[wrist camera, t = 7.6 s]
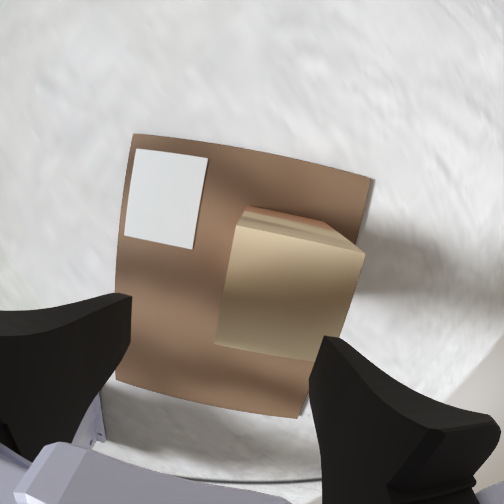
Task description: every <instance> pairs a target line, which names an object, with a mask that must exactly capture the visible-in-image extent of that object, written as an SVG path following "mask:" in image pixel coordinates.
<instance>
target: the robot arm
mask: <svg viewBox="0 0 504 504" xmlns="http://www.w3.org/2000/svg"><path fill="white" fill-rule="evenodd" d="M132 297H133V296H130V295H126V294H122V293H111V294H106V295H102V296H98V297H95V298H91V299H87V300H83V301H80V302H76V303H71V304H67V305H62V306H58V307H53V308H46V309H38V310H26V311H0V504H292V503H290V502H289V501H287V500H286V499H284V498H282V497H279V496H274V495H269V494H264V493H260V492H256V491H251V490H245V489H237V488H230V487H224V486H218V485H212V484H207V483H202V482H197V481H192V480H187V479H183V478H179V477H175V476H171V475H167V474H163V473H159V472H156V471H152V470H149V469H145V468H142V467H139V466H136V465H133V464H130V463H127V462H124V461H121V460H118V459H115V458H112V457H110V456H107V455H104V454H102V453H99V452H97V451H94V450H92V448H93V446H94V445H95V443H96V441H100V442H102V443H104V442H105V441H106V436H105V430H104V424H103V417H102V411H101V403H100V396H99V391H100V390H101V389H102V387H103V386H104V384H105V383H106V382H107V380H108V379H109V378H110V376H111V375H112V373H113V372H114V371H115V369H116V368H117V366H118V365H119V364H120V362H121V361H122V359H123V357H124V355H125V353H126V351H127V349H128V347H129V345H130V343H131V316H132ZM309 398H310V405H311V410H312V414H313V419H314V424H315V428H316V433H317V438H318V443H319V448H320V455H321V469H322V504H504V481H502V482H499V483H497V484H494V485H492V486H489V487H487V488H484V489H482V490H480V491H479V492H478V493H476V494H474V492H473V490H472V487H474V486H475V485H476V480H475V478H474V476H473V475H474V474H475V472H476V471H477V470H478V469H479V468H480V467H481V466H482V464H483V463H484V462H485V461H486V460H487V458H488V457H489V456H490V455H491V453H492V452H493V451H494V449H495V448H496V446H497V444H498V442H499V439H500V434H501V430H500V427H499V426H498V424H497V423H496V422H495V420H494V419H493V418H492V417H491V416H490V415H488V414H482V413H477V412H472V411H468V410H463V409H459V408H456V407H453V406H450V405H446V404H444V403H441V402H438V401H436V400H433V399H431V398H429V397H427V396H424V395H422V394H420V393H418V392H416V391H414V390H412V389H410V388H408V387H407V386H405V385H403V384H402V383H400V382H398V381H397V380H395V379H393V378H392V377H390V376H389V375H388V374H386V373H385V372H383V371H382V370H381V369H379V368H378V367H377V366H375V365H374V364H373V363H371V362H370V361H369V360H368V359H366V358H365V357H364V356H363V355H361V354H360V353H359V352H358V351H357V350H355V349H354V348H353V347H352V346H350V345H349V344H348V343H347V342H345V341H344V340H342V339H341V338H338V337H331V336H324V337H323V339H322V342H321V345H320V348H319V351H318V354H317V357H316V360H315V363H314V365H313V368H312V371H311V374H310V376H309Z"/></svg>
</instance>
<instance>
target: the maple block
mask: <svg viewBox="0 0 504 504" xmlns="http://www.w3.org/2000/svg"><path fill="white" fill-rule="evenodd" d="M365 255H366V253H365V252H363V251H362V250H361V249H359V248H358V247H357V246H356V245H354V244H353V243H352V242H350V241H349V240H348V239H346V238H345V237H344V236H343V235H341V234H340V233H339V232H337V231H334V230H330V229H326V228H321V227H317V226H313V225H308V224H304V223H299V222H295V221H290V220H286V219H281V218H276V217H272V216H267V215H262V214H258V213H253V212H248V211H244V212H243V214H242V216H241V218H240V219H239V221H238V223H237V225H236V228H235V234H234V239H233V244H232V249H231V254H230V259H229V264H228V270H227V275H226V280H225V285H224V291H223V296H222V301H221V307H220V312H219V318H218V323H217V329H216V334H215V340H214V344H217V345H222V346H226V347H231V348H236V349H241V350H246V351H251V352H257V353H262V354H268V355H274V356H280V357H286V358H292V359H298V360H305V361H312V362H315V360H316V357H317V354H318V351H319V348H320V345H321V342H322V339H323V337H324V336H331V337H338V338H339V336H340V333H341V331H342V328H343V325H344V322H345V319H346V316H347V313H348V310H349V307H350V304H351V301H352V298H353V295H354V292H355V288H356V285H357V282H358V279H359V275H360V272H361V269H362V265H363V262H364V258H365Z"/></svg>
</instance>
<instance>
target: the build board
mask: <svg viewBox="0 0 504 504" xmlns="http://www.w3.org/2000/svg"><path fill="white" fill-rule="evenodd" d="M370 180H371V178H368V177H364V176H361V175H357V174H354V173H350V172H346V171H342V170H339V169H335V168H331V167H327V166H323V165H319V164H314V163H310V162H306V161H302V160H297V159H293V158H288V157H283V156H279V155H274V154H269V153H264V152H259V151H254V150H248V149H243V148H237V147H232V146H226V145H220V144H213V143H207V142H200V141H193V140H186V139H178V138H170V137H162V136H153V135H143V134H133V137H132V142H131V147H130V153H129V159H128V165H127V171H126V177H125V184H124V191H123V198H122V206H121V215H120V224H119V234H118V245H117V259H116V276H115V293H122V294H126V295H130V296H133V297H132V316H131V343H130V345H129V347H128V349H127V351H126V353H125V355H124V357H123V359H122V361H121V362H120V364H119V365H118V366H117V368H116V369H115V374H116V380H118V381H121V382H124V383H127V384H130V385H133V386H137V387H140V388H143V389H147V390H150V391H154V392H157V393H161V394H165V395H168V396H172V397H176V398H180V399H184V400H188V401H193V402H197V403H202V404H206V405H211V406H216V407H221V408H226V409H232V410H237V411H243V412H249V413H256V414H262V415H270V416H277V417H286V418H295V419H297V418H298V416H299V413H300V411H301V408H302V406H303V403H304V401H305V398H306V396H307V393H308V391H309V376H310V374H311V371H312V368H313V365H314V363H315V362H312V361H305V360H298V359H292V358H286V357H280V356H274V355H268V354H262V353H257V352H251V351H246V350H241V349H236V348H231V347H226V346H222V345H217V344H214V340H215V334H216V329H217V323H218V318H219V312H220V307H221V301H222V296H223V291H224V285H225V280H226V275H227V270H228V264H229V259H230V254H231V249H232V244H233V239H234V234H235V228H236V225H237V223H238V221H239V219H240V218H241V216H242V214H243V212H244V210H245V208H246V207H247V205H248V206H253V207H258V208H263V209H268V210H272V211H277V212H282V213H287V214H291V215H296V216H301V217H305V218H310V219H314V220H319V221H323V222H325V223H326V224H328V225H329V226H330V227H332V228H333V229H334V230H336V231H337V232H339V233H340V234H341V235H343V236H344V237H345V238H346V239H348V240H349V241H350V242H352V243H353V244H354V245H355V244H356V241H357V237H358V233H359V229H360V224H361V220H362V216H363V212H364V207H365V203H366V199H367V194H368V189H369V185H370Z"/></svg>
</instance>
